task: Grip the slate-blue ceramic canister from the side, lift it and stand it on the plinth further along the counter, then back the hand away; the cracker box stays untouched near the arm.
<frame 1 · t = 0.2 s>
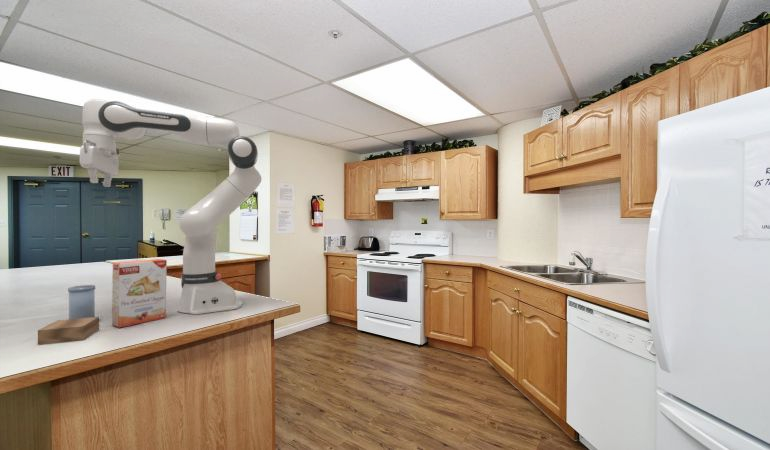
hand: (100, 184, 117), 47 cm above the countertop, tool pointing down, fingers open, 8 cm apart
cracker box: (140, 322, 111), on the countertop
plinth: (70, 336, 97), on the countertop
canister: (82, 322, 110), on the countertop
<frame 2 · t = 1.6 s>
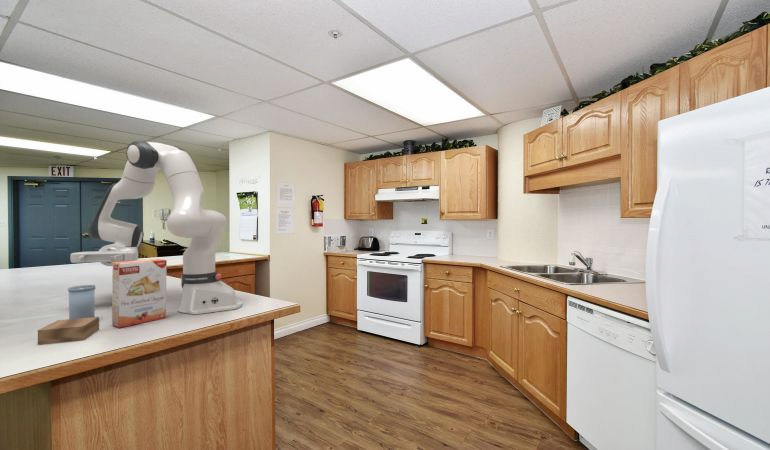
hand: (97, 258, 121), 20 cm above the countertop, tool horizontal, fingers open, 8 cm apart
nothing on the countertop moved.
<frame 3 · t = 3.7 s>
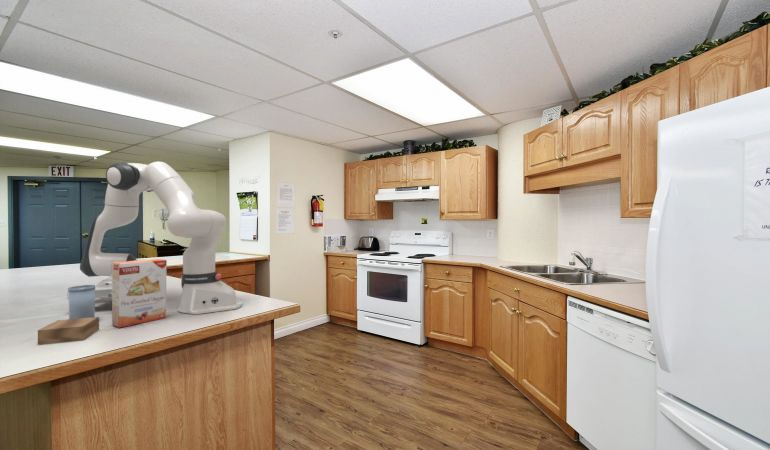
hand: (94, 296, 119), 7 cm above the countertop, tool horizontal, fingers open, 8 cm apart
nothing on the countertop moved.
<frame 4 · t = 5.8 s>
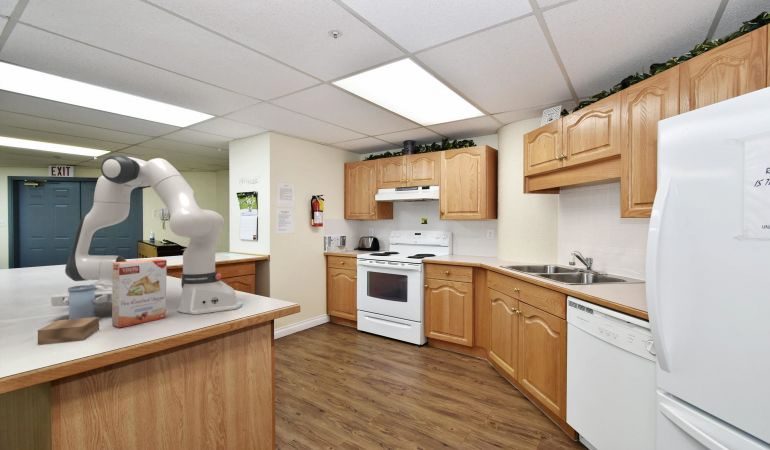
hand: (80, 302, 109), 7 cm above the countertop, tool horizontal, fingers closed on canister, 6 cm apart
canister: (82, 322, 110), on the countertop, touching gripper
everything else where it was.
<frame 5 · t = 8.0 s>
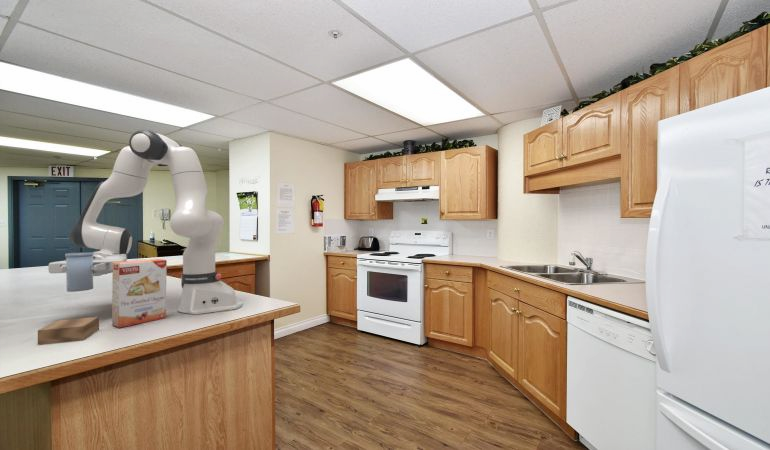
hand: (78, 268, 106), 19 cm above the countertop, tool horizontal, fingers closed on canister, 6 cm apart
canister: (80, 289, 107), point 12 cm above the countertop, touching gripper
everything else where it was.
when the fingers open (12 cm above the countertop, at t = 10.5 s): canister drops 1 cm, resting on plinth.
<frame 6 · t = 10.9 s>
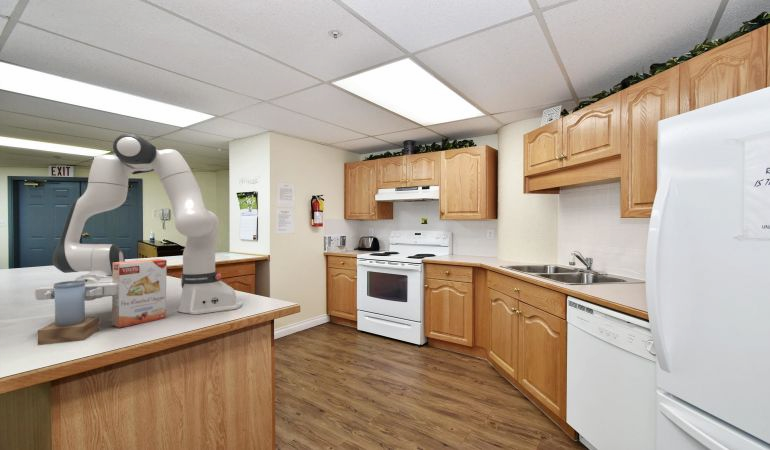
hand: (68, 295, 96), 12 cm above the countertop, tool horizontal, fingers open, 8 cm apart
canister: (70, 323, 97), point 4 cm above the countertop, touching plinth
everything else where it was.
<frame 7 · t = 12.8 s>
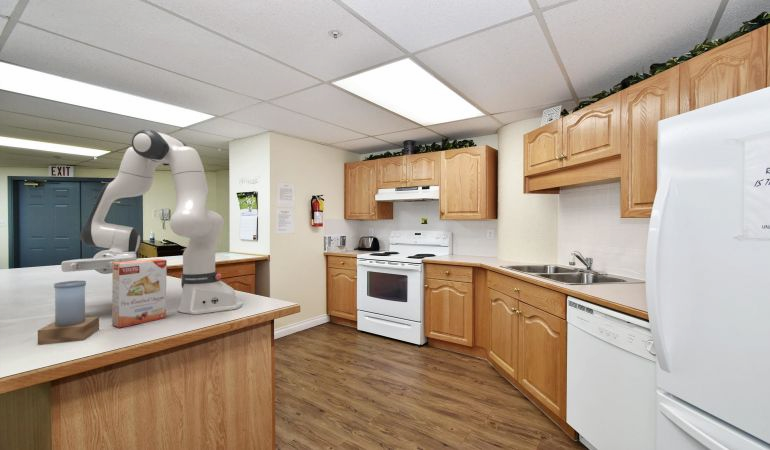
hand: (91, 265, 109), 19 cm above the countertop, tool horizontal, fingers open, 8 cm apart
nothing on the countertop moved.
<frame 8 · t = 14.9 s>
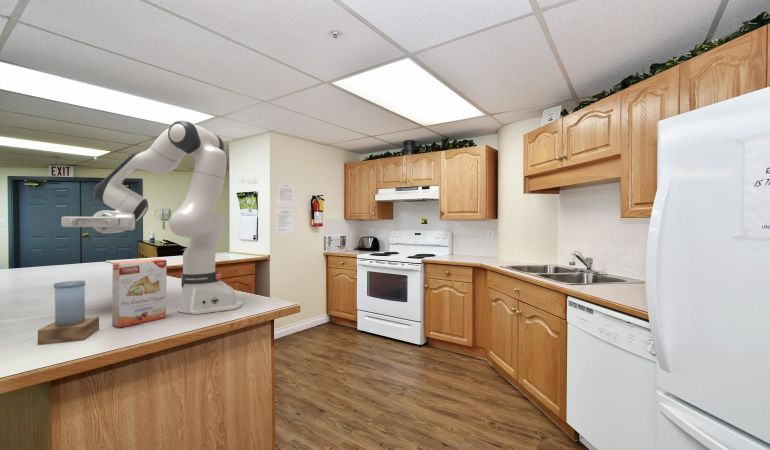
hand: (90, 221, 112), 34 cm above the countertop, tool horizontal, fingers open, 8 cm apart
nothing on the countertop moved.
at the end: canister 0.0 cm from the plinth (horizontally); canister touching plinth; canister tilted 0° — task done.
